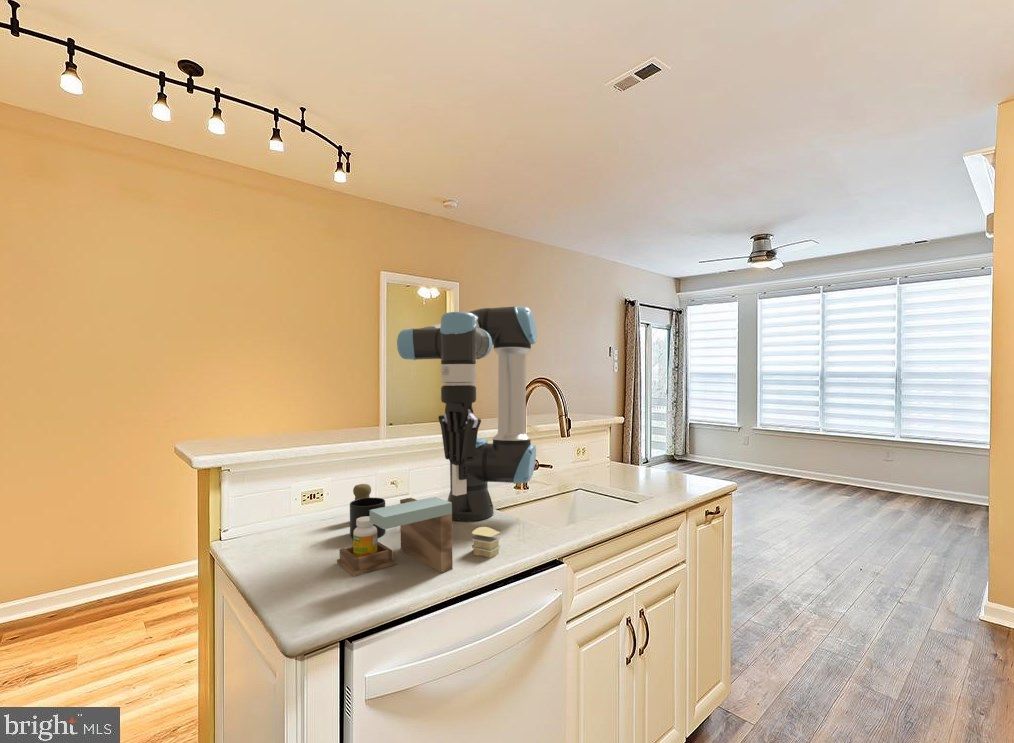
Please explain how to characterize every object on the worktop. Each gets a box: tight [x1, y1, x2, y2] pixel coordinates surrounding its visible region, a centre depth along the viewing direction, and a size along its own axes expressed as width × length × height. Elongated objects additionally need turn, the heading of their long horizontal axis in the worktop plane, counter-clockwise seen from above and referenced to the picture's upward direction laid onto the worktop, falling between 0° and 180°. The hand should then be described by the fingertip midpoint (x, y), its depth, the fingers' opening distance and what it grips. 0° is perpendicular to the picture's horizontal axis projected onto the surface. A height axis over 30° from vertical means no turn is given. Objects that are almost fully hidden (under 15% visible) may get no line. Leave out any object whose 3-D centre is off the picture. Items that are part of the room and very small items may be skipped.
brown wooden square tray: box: [336, 540, 397, 577], centre depth 114 cm, size 10×10×3 cm
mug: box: [349, 497, 387, 539], centre depth 133 cm, size 9×12×9 cm
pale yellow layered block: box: [471, 526, 501, 559], centre depth 120 cm, size 10×9×6 cm
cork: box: [352, 483, 372, 500], centre depth 147 cm, size 6×6×11 cm
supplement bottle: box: [352, 516, 378, 558], centre depth 114 cm, size 5×5×10 cm
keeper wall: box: [399, 497, 454, 573], centre depth 116 cm, size 3×19×12 cm, turn 40°
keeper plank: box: [370, 496, 452, 530], centre depth 107 cm, size 16×7×2 cm, turn 130°
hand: (459, 494), depth 105 cm, fingers closed
